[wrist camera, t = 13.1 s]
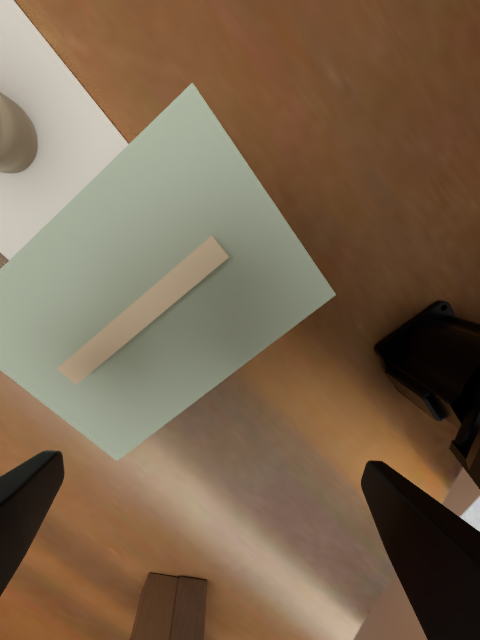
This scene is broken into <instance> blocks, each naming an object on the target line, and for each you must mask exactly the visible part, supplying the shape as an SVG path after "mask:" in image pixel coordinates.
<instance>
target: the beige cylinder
mask: <svg viewBox="0 0 480 640" xmlns="http://www.w3.org/2000/svg"><path fill="white" fill-rule="evenodd" d="M36 151H37V138H36V133H35V130H34V127H33V125H32V122H31V121H30V119H29V117H28V116H27V114H26V113H25V112H24V111H23V109H22V108H21V107H20V106H19V105H18V104H16V103H15V102H14V101H12V100H11V99H10V98H8V97H7V96H5V95H4V94H2V93H1V92H0V172H2V173H18V172H21V171H23V170H25V169H26V168H28V167H29V166H30V165H31V163H32V162H33V160H34V158H35V155H36Z"/></svg>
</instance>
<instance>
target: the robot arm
mask: <svg viewBox="0 0 480 640" xmlns="http://www.w3.org/2000/svg"><path fill="white" fill-rule="evenodd" d="M441 306H442V308H441ZM383 347H384V349H383V350H382V351H381V349H382V348H383ZM375 351H376V353H377V354H378V356H379V357H380V359H381V360H382V362H383V363H384V365H385V366H386V368H385V373H386V374H387V376H388V377H389V379H390V380H391V382H392V383H393V385H394V386H395V388H396V389H397V390H398V391H399V392H400V393H401V394H403V395H404V396H405V397H406V398H408V399H409V400H410V401H411V402H413V403H414V404H415V405H417V406H418V407H419V408H420V409H422V410H423V411H424V412H425V413H427V414H428V415H429V416H430V417H432V418H433V419H434V420H436V421H443V420H444V419H447V420H448V421H450V422H451V423H452V424H454V425H455V426H456V427H458V428H459V431H458V433H457V435H456V438H455V440H453V441H452V442H451V445H450V447H449V449H450V450H451V451H452V453H453V454H454V455H455V457H456V458H457V459H458V461H459V462H460V463H461V465H462V466H463V467H464V469H465V470H466V471H467V473H468V474H469V475H470V477H471V478H472V479H473V481H474V482H475V483H476V485H477V486H478V487H479V489H480V324H479V323H475V322H471V321H468V320H464V319H460V318H457V317H456V316H455V314H454V312H453V310H452V308H451V306H450V304H449V303H448V302H445V301H438V302H436V303H435V304H433V305H432V306H430V307H429V308H428V309H426V310H425V311H423V312H422V313H421V314H419V315H418V316H416V317H415V318H413V319H412V320H411V321H409V322H408V323H406V324H405V325H404V326H402V327H401V328H399V329H398V330H397V331H395V332H394V333H392V334H391V335H390V336H388V337H387V338H385V339H384V340H383V341H381V342H380V343H378V344H377V345H376V347H375ZM63 479H64V464H63V455H62V453H61V451H51V450H46V451H43V452H41V453H39V454H37V455H36V456H34V457H32V458H31V459H29V460H27V461H26V462H24V463H22V464H21V465H19V466H17V467H16V468H14V469H12V470H11V471H9V472H7V473H6V474H4V475H2V476H1V477H0V596H1V594H2V593H3V591H4V589H5V588H6V586H7V585H8V583H9V581H10V580H11V578H12V576H13V575H14V573H15V571H16V570H17V568H18V566H19V565H20V563H21V561H22V560H23V558H24V556H25V555H26V553H27V551H28V549H29V547H30V545H31V543H32V542H33V540H34V538H35V536H36V534H37V532H38V530H39V528H40V526H41V524H42V522H43V520H44V518H45V516H46V514H47V512H48V510H49V508H50V506H51V504H52V502H53V500H54V498H55V496H56V494H57V492H58V491H59V489H60V487H61V485H62V482H63ZM361 487H362V490H363V493H364V496H365V498H366V501H367V504H368V506H369V509H370V511H371V514H372V517H373V519H374V522H375V524H376V527H377V530H378V532H379V535H380V537H381V540H382V542H383V545H384V547H385V550H386V552H387V554H388V556H389V559H390V561H391V563H392V565H393V567H394V569H395V571H396V574H397V576H398V578H399V580H400V582H401V584H402V586H403V588H404V590H405V593H406V595H407V597H408V599H409V601H410V603H411V605H412V607H413V609H414V612H415V614H416V616H417V618H418V620H419V622H420V624H421V626H422V628H423V631H424V633H425V635H426V637H427V639H428V640H480V532H479V531H478V530H476V529H475V528H474V527H472V526H471V525H470V524H468V523H467V522H465V521H464V520H463V519H461V518H460V517H458V516H457V515H456V514H454V513H453V512H452V511H450V510H449V509H447V508H446V507H444V506H443V505H442V504H441V503H439V502H438V501H436V500H435V499H434V498H432V497H431V496H429V495H428V494H427V493H425V492H424V491H423V490H421V489H420V488H418V487H417V486H416V485H414V484H413V483H412V482H410V481H409V480H407V479H406V478H405V477H403V476H402V475H400V474H399V473H398V472H396V471H395V470H394V469H392V468H391V467H389V466H388V465H387V464H385V463H384V462H382V461H368V462H367V463H366V466H365V469H364V473H363V476H362V479H361Z"/></svg>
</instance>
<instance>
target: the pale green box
mask: <svg viewBox="0 0 480 640" xmlns="http://www.w3.org/2000/svg"><path fill="white" fill-rule="evenodd" d="M335 295H336V294H335V292H334V291H333V289H332V288H331V287H330V285H329V284H328V282H327V281H326V279H325V278H324V276H323V275H322V273H321V272H320V270H319V269H318V267H317V266H316V264H315V263H314V261H313V260H312V258H311V257H310V256H309V254H308V253H307V251H306V250H305V248H304V247H303V245H302V244H301V242H300V241H299V239H298V238H297V236H296V235H295V233H294V232H293V230H292V229H291V227H290V226H289V225H288V223H287V222H286V220H285V219H284V217H283V216H282V214H281V213H280V211H279V210H278V208H277V207H276V205H275V204H274V202H273V201H272V199H271V198H270V196H269V195H268V194H267V192H266V191H265V189H264V188H263V186H262V185H261V183H260V182H259V180H258V179H257V177H256V176H255V174H254V173H253V171H252V170H251V168H250V167H249V165H248V164H247V163H246V161H245V160H244V158H243V157H242V155H241V154H240V152H239V151H238V149H237V148H236V146H235V145H234V143H233V142H232V140H231V139H230V137H229V136H228V134H227V133H226V132H225V130H224V129H223V127H222V126H221V124H220V123H219V121H218V120H217V118H216V117H215V115H214V114H213V112H212V111H211V109H210V108H209V106H208V105H207V103H206V102H205V101H204V99H203V98H202V96H201V95H200V93H199V92H198V90H197V89H196V87H195V86H194V84H193V83H192V84H191V85H190V86H188V87H187V88H186V89H185V90H184V91H183V92H182V93H181V94H180V95H179V96H178V97H177V98H176V99H175V100H174V101H173V102H172V103H171V104H170V105H169V106H168V107H167V108H166V109H165V110H164V111H163V112H162V113H161V114H160V115H159V116H158V117H157V118H156V119H154V120H153V121H152V122H151V123H150V124H149V125H148V126H147V127H146V128H145V129H144V130H143V131H142V132H141V133H140V134H139V135H138V136H137V137H136V138H135V139H134V140H133V141H132V142H131V143H130V144H129V145H128V146H127V147H126V148H125V149H124V150H123V151H122V152H120V153H119V154H118V155H117V156H116V157H115V158H114V159H113V160H112V161H111V162H110V163H109V164H108V165H107V166H106V167H105V168H104V169H103V170H102V171H101V172H100V173H99V174H98V175H97V176H96V177H95V178H94V179H93V180H92V181H91V182H90V183H89V184H88V185H86V186H85V187H84V188H83V189H82V190H81V191H80V192H79V193H78V194H77V195H76V196H75V197H74V198H73V199H72V200H71V201H70V202H69V203H68V204H67V205H66V206H65V207H64V208H63V209H62V210H61V211H60V212H59V213H58V214H57V215H56V216H55V217H54V218H53V219H51V220H50V221H49V222H48V223H47V224H46V225H45V226H44V227H43V228H42V229H41V230H40V231H39V232H38V233H37V234H36V235H35V236H34V237H33V238H32V239H31V240H30V241H29V242H28V243H27V244H26V245H25V246H24V247H23V248H22V249H21V250H20V251H19V252H17V253H16V254H15V255H14V256H13V257H12V258H11V259H10V260H9V261H8V262H7V263H6V264H5V265H4V266H3V267H2V268H1V269H0V370H1V371H2V372H3V373H5V374H6V375H7V376H8V377H10V378H11V379H12V380H14V381H15V382H16V383H17V384H19V385H20V386H21V387H23V388H24V389H25V390H26V391H28V392H29V393H30V394H32V395H33V396H34V397H35V398H37V399H38V400H39V401H41V402H42V403H43V404H44V405H46V406H47V407H48V408H50V409H51V410H52V411H53V412H55V413H56V414H57V415H58V416H60V417H61V418H62V419H64V420H65V421H66V422H67V423H69V424H70V425H71V426H73V427H74V428H75V429H76V430H78V431H79V432H80V433H82V434H83V435H84V436H85V437H87V438H88V439H89V440H91V441H92V442H93V443H94V444H96V445H97V446H98V447H100V448H101V449H102V450H103V451H105V452H106V453H107V454H109V455H110V456H111V457H112V458H114V459H115V460H116V461H118V460H119V459H120V458H122V457H123V456H124V455H126V454H127V453H128V452H130V451H131V450H132V449H134V448H135V447H136V446H138V445H139V444H140V443H141V442H143V441H144V440H145V439H147V438H148V437H149V436H151V435H152V434H153V433H155V432H156V431H157V430H159V429H160V428H161V427H163V426H164V425H165V424H167V423H168V422H169V421H170V420H172V419H173V418H174V417H176V416H177V415H178V414H180V413H181V412H182V411H184V410H185V409H186V408H188V407H189V406H190V405H192V404H193V403H194V402H195V401H197V400H198V399H199V398H201V397H202V396H203V395H205V394H206V393H207V392H209V391H210V390H211V389H213V388H214V387H215V386H217V385H218V384H219V383H221V382H222V381H223V380H224V379H226V378H227V377H228V376H230V375H231V374H232V373H234V372H235V371H236V370H238V369H239V368H240V367H242V366H243V365H244V364H246V363H247V362H248V361H250V360H251V359H252V358H253V357H255V356H256V355H257V354H259V353H260V352H261V351H263V350H264V349H265V348H267V347H268V346H269V345H271V344H272V343H273V342H275V341H276V340H277V339H278V338H280V337H281V336H282V335H284V334H285V333H286V332H288V331H289V330H290V329H292V328H293V327H294V326H296V325H297V324H298V323H300V322H301V321H302V320H304V319H305V318H306V317H307V316H309V315H310V314H311V313H313V312H314V311H315V310H317V309H318V308H319V307H321V306H322V305H323V304H325V303H326V302H327V301H329V300H330V299H331V298H332V297H334V296H335Z"/></svg>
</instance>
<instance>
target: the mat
mask: <svg viewBox="0 0 480 640" xmlns="http://www.w3.org/2000/svg"><path fill="white" fill-rule="evenodd" d="M0 92H1V93H2V94H4V95H5V96H7V97H8V98H10V99H11V100H12V101H14V102H15V103H16V104H18V105H19V106H20V107H21V108H22V109H23V111H24V112H25V113H26V114H27V116H28V117H29V119H30V121H31V122H32V125H33V127H34V130H35V133H36V138H37V151H36V155H35V158H34V160H33V162H32V163H31V165H30V166H29V167H28V168H26V169H25V170H23V171H21V172H18V173H2V172H0V252H1V253H2V254H3V255H4V256H5V257H6V258H7V259H8V260H10V259H11V258H12V257H13V256H14V255H15V254H16V253H17V252H19V251H20V250H21V249H22V248H23V247H24V246H25V245H26V244H27V243H28V242H29V241H30V240H31V239H32V238H33V237H34V236H35V235H36V234H37V233H38V232H39V231H40V230H41V229H42V228H43V227H44V226H45V225H46V224H47V223H48V222H49V221H50V220H51V219H53V218H54V217H55V216H56V215H57V214H58V213H59V212H60V211H61V210H62V209H63V208H64V207H65V206H66V205H67V204H68V203H69V202H70V201H71V200H72V199H73V198H74V197H75V196H76V195H77V194H78V193H79V192H80V191H81V190H82V189H83V188H84V187H85V186H86V185H88V184H89V183H90V182H91V181H92V180H93V179H94V178H95V177H96V176H97V175H98V174H99V173H100V172H101V171H102V170H103V169H104V168H105V167H106V166H107V165H108V164H109V163H110V162H111V161H112V160H113V159H114V158H115V157H116V156H117V155H118V154H119V153H120V152H122V151H123V150H124V149H125V148H126V147H127V146H128V145H129V144H128V143H127V141H126V140H125V139H124V138H123V136H122V135H121V134H120V133H119V131H118V130H117V129H116V128H115V126H114V125H113V124H112V123H111V121H110V120H109V119H108V118H107V116H106V115H105V114H104V113H103V111H102V110H101V109H100V108H99V106H98V105H97V104H96V103H95V101H94V100H93V99H92V98H91V96H90V95H89V94H88V93H87V91H86V90H85V89H84V88H83V86H82V85H81V84H80V83H79V81H78V80H77V79H76V78H75V76H74V75H73V74H72V73H71V71H70V70H69V69H68V68H67V66H66V65H65V64H64V63H63V61H62V60H61V59H60V58H59V56H58V55H57V54H56V53H55V51H54V50H53V49H52V48H51V46H50V45H49V44H48V43H47V41H46V40H45V39H44V38H43V36H42V35H41V34H40V33H39V31H38V30H37V29H36V28H35V26H34V25H33V24H32V23H31V21H30V20H29V19H28V18H27V16H26V15H25V14H24V13H23V11H22V10H21V9H20V8H19V6H18V5H17V4H16V3H15V1H14V0H0Z"/></svg>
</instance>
